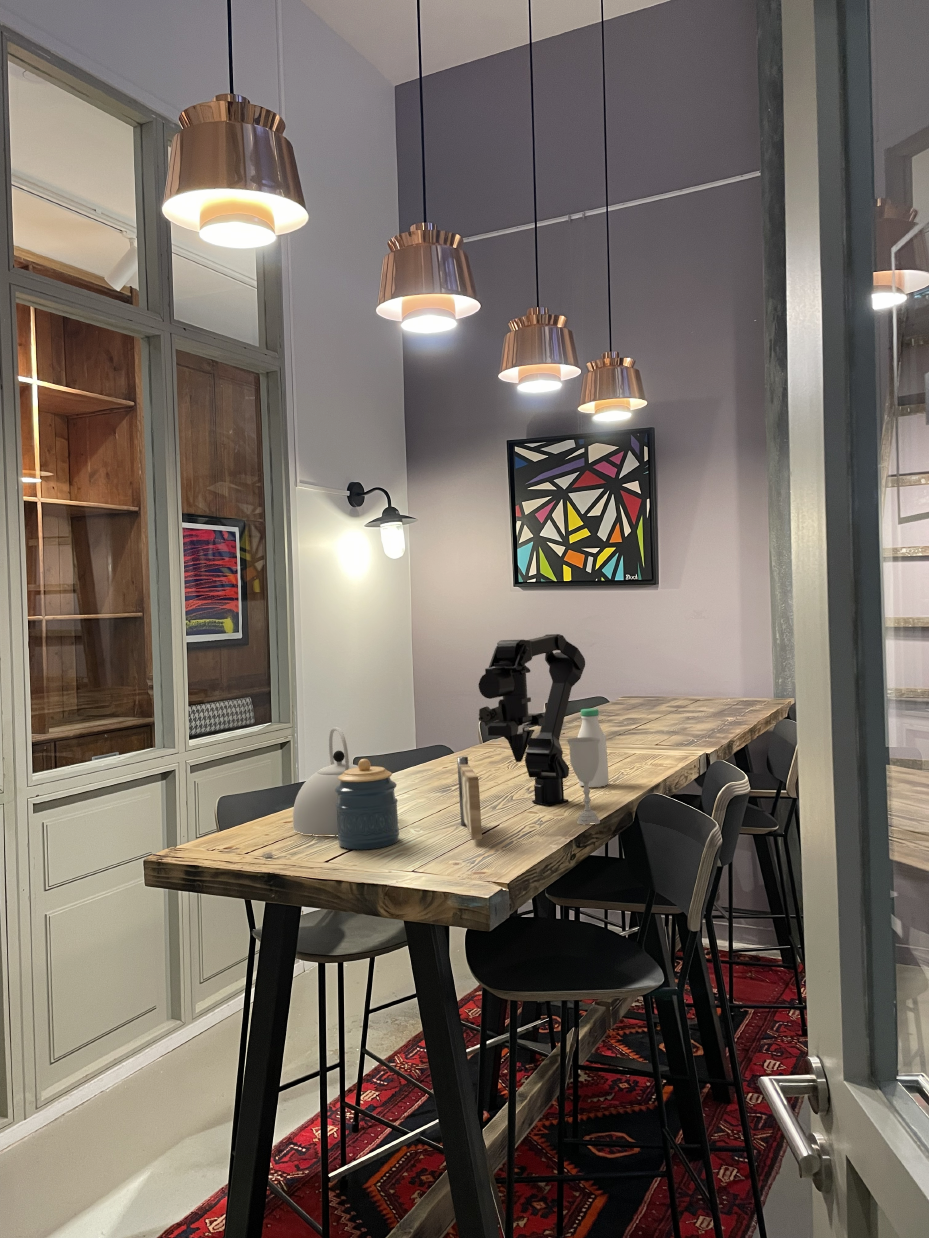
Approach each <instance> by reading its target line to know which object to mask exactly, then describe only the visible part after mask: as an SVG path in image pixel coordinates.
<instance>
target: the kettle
mask: <svg viewBox="0 0 929 1238" xmlns="http://www.w3.org/2000/svg"><path fill="white" fill-rule="evenodd" d="M329 731H330V732H329V736H328V737H329V738H328V750H329V751H328V752H329V753H328V754H329V762H330V765H328V766H324V767H322V768H321V769H318V770H317V771H316V772H314V773H313V774H312V775H311V776H310V777H309V778H307V780H306V781H305V782H304V783H303V784H302V786H301V787H300V789H299V790H298V792H297V794H296V797H295V800H294V805H293V812H292V824H293V827H292V829H293V828H294V830H295V831H297V832H300V833H303V834H312V835H313V834H314V835H337V833H338V823H337V808H336V803H337V802H338V794H337V793H336V792H335V788H336V787H337V786H338V785H339V784H340V780H338V777H339V776H340V775H342V774H343V773H344V772H345V771H346V770H348V769H352V768H358V764H352V763H351V764H350V759H349V750H348V745H347V741H346V737H345V735H344V732H343V730H342V729H341V728H340V727H337V726H334V727H331V729H330V730H329ZM335 731H336V732H338V734H339V736H340V739H341V743H342V746H343V747H342V748H343V751H342V750H336V751H334V750H333V749H334V748H333V739H334V738H333V737H334V733H335ZM343 761H344V763H343ZM335 762H336V763H335Z"/></svg>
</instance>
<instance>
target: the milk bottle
mask: <svg viewBox="0 0 929 1238" xmlns="http://www.w3.org/2000/svg"><path fill="white" fill-rule="evenodd" d="M599 713H600V712H599V709H598V708H583V709H580V716H581V717H580V718H581V726H580V729H579V732H578V734H577V738H581V737H594V738H600V741H599V743H598V750H599V764H598V768H597V771H596V773H595V776H594V778H593V780H592V781H591V782H589V785H588V787H598V788H601V787H600V786H604V787H606V786H605V785H607V784H608V785H609V784H610V783H609V781H610V780H609V763H608V750H607V740H606V739H607V738H606V736H605V733H604V731H603V730H602V728H601V725H600V722H599ZM578 784H579V786H580V787H581V786H584V783H583V782H581V781H579V780H578ZM608 785H607V786H608Z"/></svg>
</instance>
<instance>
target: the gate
mask: <svg viewBox="0 0 929 1238" xmlns="http://www.w3.org/2000/svg"><path fill="white" fill-rule="evenodd" d="M459 770H460V772H461V782H462V799H463V816H464V822H465V824H466V825H467V826H466V827H467V829H468V831H469V832H470V838H471V840H482V839H483V833H482V832H483V831H482V816H481V815H482V814H481V813H482V812H481V797H480V782H479V781H480V780H479V776H478V775H477V773H476V772H475V771H474V770H473V768H472V767H471V766H470V764H469V763H468V764H464V765H459Z"/></svg>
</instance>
